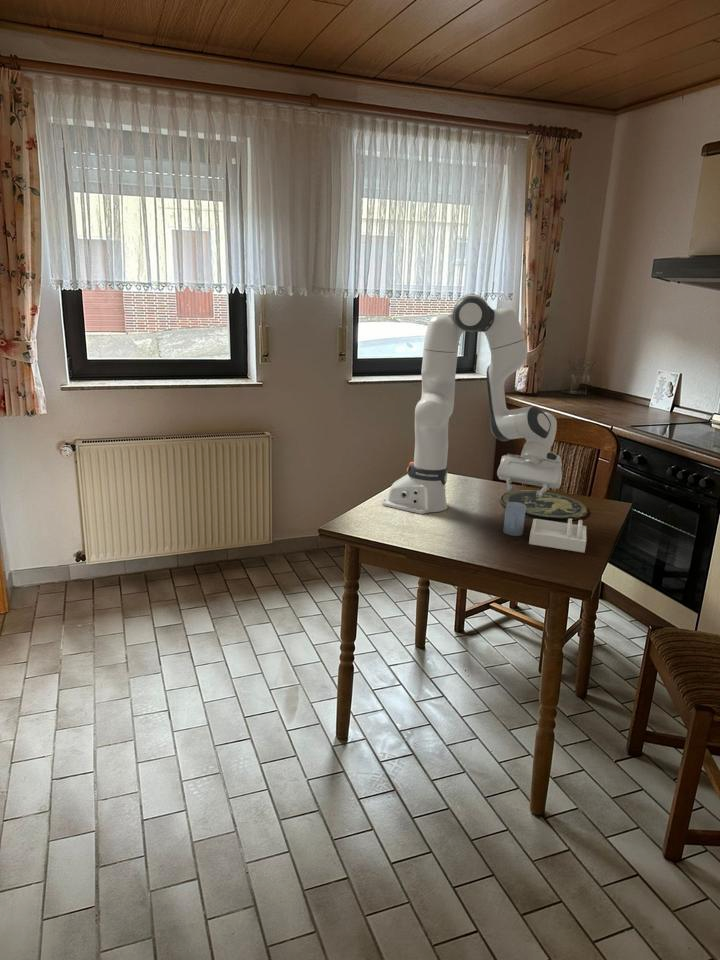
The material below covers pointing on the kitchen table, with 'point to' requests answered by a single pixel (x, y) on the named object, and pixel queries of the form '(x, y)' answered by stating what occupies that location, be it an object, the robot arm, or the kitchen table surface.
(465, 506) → the kitchen table surface
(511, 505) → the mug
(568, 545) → the white pegged tray
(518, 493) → the decorative plate
